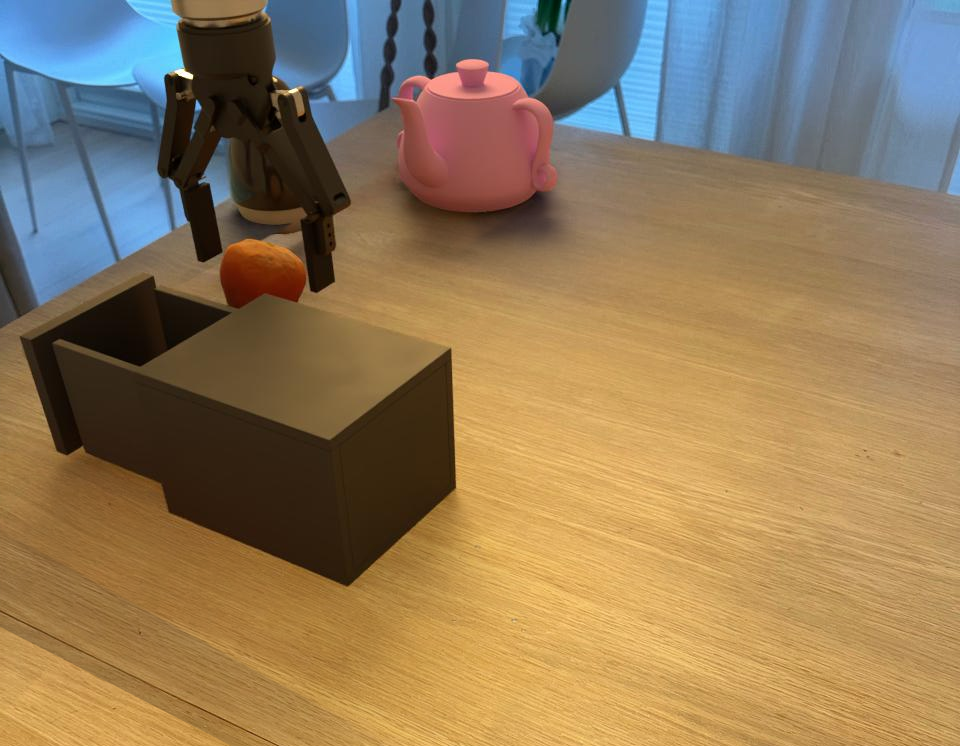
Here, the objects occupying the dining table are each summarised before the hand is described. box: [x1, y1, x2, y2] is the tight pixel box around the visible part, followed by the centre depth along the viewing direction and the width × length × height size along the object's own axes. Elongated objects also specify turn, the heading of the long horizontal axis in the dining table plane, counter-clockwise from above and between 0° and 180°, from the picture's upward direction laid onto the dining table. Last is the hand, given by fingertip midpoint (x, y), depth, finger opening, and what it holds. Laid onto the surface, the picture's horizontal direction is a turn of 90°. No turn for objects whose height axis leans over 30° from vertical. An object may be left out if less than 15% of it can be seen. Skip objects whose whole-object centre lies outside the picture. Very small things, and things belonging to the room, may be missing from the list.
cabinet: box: [133, 294, 457, 587], centre depth 77 cm, size 17×14×12 cm
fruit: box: [219, 238, 307, 309], centre depth 102 cm, size 8×8×8 cm
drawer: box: [19, 272, 238, 484], centre depth 83 cm, size 20×12×10 cm, turn 58°
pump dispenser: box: [228, 74, 317, 235], centre depth 114 cm, size 10×10×15 cm
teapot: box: [390, 58, 558, 213], centre depth 119 cm, size 22×22×14 cm
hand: (265, 271), depth 101 cm, fingers open, 13 cm apart
